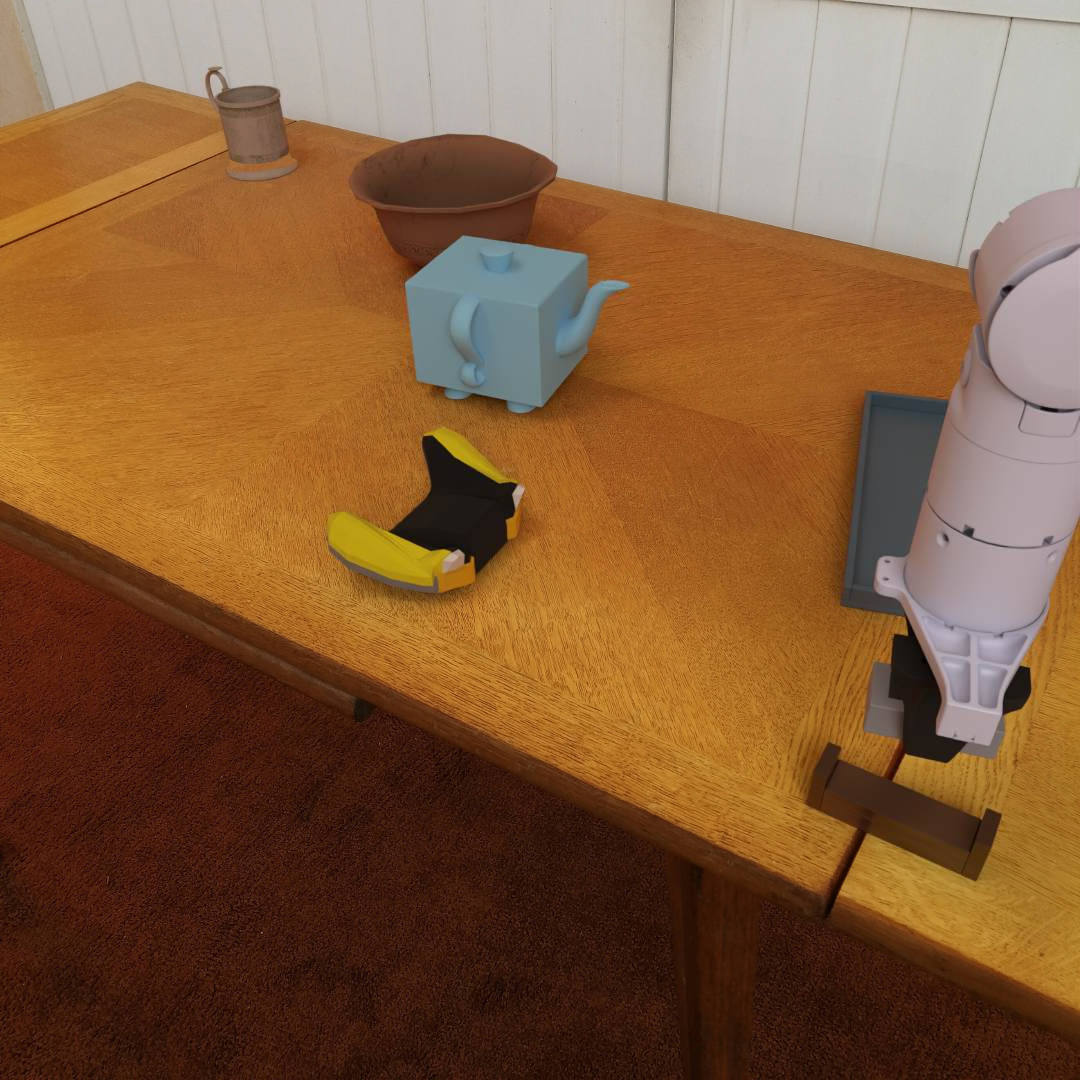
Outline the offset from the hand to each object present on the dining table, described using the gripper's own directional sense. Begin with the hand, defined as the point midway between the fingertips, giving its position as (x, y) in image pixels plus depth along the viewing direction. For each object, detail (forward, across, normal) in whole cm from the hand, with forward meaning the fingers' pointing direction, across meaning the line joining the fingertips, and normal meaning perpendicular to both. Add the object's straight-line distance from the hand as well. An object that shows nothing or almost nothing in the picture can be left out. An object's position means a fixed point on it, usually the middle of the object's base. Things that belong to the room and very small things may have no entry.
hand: (927, 724), depth 49 cm
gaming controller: (+9, -16, -33) cm, 38 cm away
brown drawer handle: (+8, 0, 0) cm, 8 cm away
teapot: (+9, -38, -33) cm, 52 cm away
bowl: (+9, -61, -50) cm, 79 cm away
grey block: (0, 0, 0) cm, 0 cm away
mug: (+9, -85, -90) cm, 125 cm away
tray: (+8, -30, 0) cm, 31 cm away
